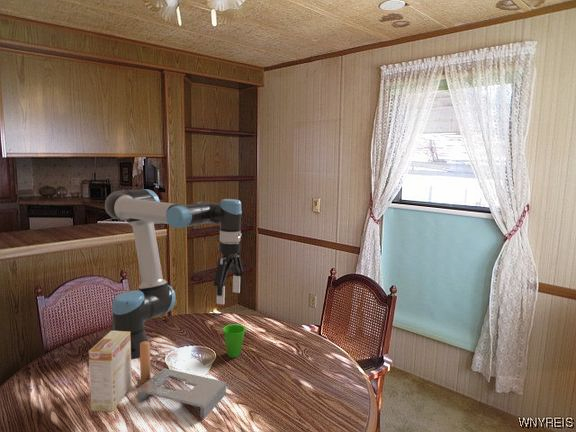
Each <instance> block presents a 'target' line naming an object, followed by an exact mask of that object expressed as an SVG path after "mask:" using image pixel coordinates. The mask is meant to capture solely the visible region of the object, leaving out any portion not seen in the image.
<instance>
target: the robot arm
mask: <svg viewBox="0 0 576 432" xmlns="http://www.w3.org/2000/svg"><path fill="white" fill-rule="evenodd" d="M104 210H105V212H106V213H107V215H109V216H110V217H111V218H113V219H115V220H122V221H127V223H128V225H130V226H131V228H132V231H133V238H134V244H135V249H136V255H137V261H138V262H137V263H138V268H139V273H140V275H139V276H140V279H141V283H140V285H139V286H138V290H135V289H134V290H128V291H123V292H121V293H119V294H117V295H116V296H115V297H114V298H113V300H112V306H111V312H112V331H128V332H130V338H131V360H134V359H136V358H140V343H141V342H144V341H148V342H150V341H149V339H148V337H147V334H146V331H145V322H147V321H149V320H152V319H153V318H156V317H158V316H163V315H164V314H166V313H169V312H170V311H171V310H173V308H174V306H175V304H176V300H177V299H176V292H175V290H174V289H173V287H172V286H171V285H169V284H168V281H167V280H166V279H164V278H163V271H162V265H161V258H160V253H159V247H158V242H157V241H158V240H157V237H156V236H157V235H156V228H155V223H158V224H166V225H169V226H170V227H171V228H174V229H183V228H187V227H192V226H198V225H204V224H215V225H219V241H220V242H219V253H221V254H222V257H218V262H217V267H216V273H215V277H214V280H213V281H214V282H213V286H214V287H216V304H217V305H223V306H224V305H225V297H226V294H225V293H226V289H225V288H226V286H225V283H226V279H227V277H228V273H229V271H231V270H232V273H233V276H232V293H237V294H240V292H241V276H244V273H243V272H244V269H243V264H242V259H241V237H242V233H241V226H242V225H241V224H242V214H243V211H242V202H241V200H239V199H234V198H233V199H232V198H224V199H221V200H220V203H215V202H208V201H198V202H196V203H193V204H179V203H171V202H163V201H160V199H159V196H158V195H157V194H156V193H155V192H154V190H151V189H143V188H140V189H138V188H137V189H126V190H124V189H121V190H116V191H114V192H111V193H110V194H109V195H108V196H107V198H106V199H105V203H104Z"/></svg>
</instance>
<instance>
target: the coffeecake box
mask: <svg viewBox="0 0 576 432" xmlns="http://www.w3.org/2000/svg"><path fill="white" fill-rule="evenodd" d="M88 362H89V363H88V364H89V366H88V368H89V383H90V385H89V386H90V406H91V407H90V410H91V411H92V412H111V413H112V412H114V410H115V409H116V407H117V406H118V405H119V403H120V402H121V401H122V399H123V398H124V397H125V395H126V394H128V393H127V392H128V391H129V390H130V389H131V388H132V386H133V377H132V376H133V375H132V359H131V338H130V332H128V331H113V330H110V331H109V332H108V333H107V334H106V335H104V336H103V338H101V340H99V341H98V342H97V343H96V344H95V345H94V346H93V347H91V348H90V349H89V350H88Z"/></svg>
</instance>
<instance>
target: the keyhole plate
mask: <svg viewBox="0 0 576 432" xmlns="http://www.w3.org/2000/svg"><path fill="white" fill-rule="evenodd" d="M168 379H172V380H178V381H182V382H184V384H185V385H187V386H188V385H189V386H193V388H192V389H191V390H184V389H181V388H176V389H175V390H174V389H169V388H165V387H162V386H163V385H164V384H165V383H167V382H168ZM136 391H137V392H136V393H137V394H136V395H137V402H138V403H142V402H144V401H145V400H146V399H147V398H148V397H150V396H155V397H158V398H164V399H165V400H170V401H175V402H179V403H183V404H187V405H190V406H194V407H199V408H200V410H199V411H200V415H199V416H200V419H201V420H205V419H206V417H208V415H210V413H211V411H212V410H214V409H215V407H216V406H217V405H218V404H219V403H220V402H221V401H222V399H223V398H224V397H225V396H226V395H227V381H223V380H218V379H214V378H209V377H205V376H202V375H196V374H192V373H187V372H183V371H180V370H174V369H169V368H166V367H164V368H163V369H161V370H160V371H158V373H156V374H155V375H153V376H152V377H151V379H150V380H148V381H147V382H146V383H144V384H143V385H142V386H140V387H139V388H138V387H137V390H136Z"/></svg>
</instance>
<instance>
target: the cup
mask: <svg viewBox="0 0 576 432" xmlns="http://www.w3.org/2000/svg"><path fill="white" fill-rule="evenodd" d="M246 330H247V328H246V327H245V326H244V325H243V324H238V323H236V324H235V323H233V324H227V325H225V326H224V327H223V328H222V332H223V334H224V335H223V336H224V341H225V348H226V354H227V357H229V358H232V359H236V358H238V357H240V355H241V353H242V348H243V342H244V338H245V337H244V336H245V331H246Z"/></svg>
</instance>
